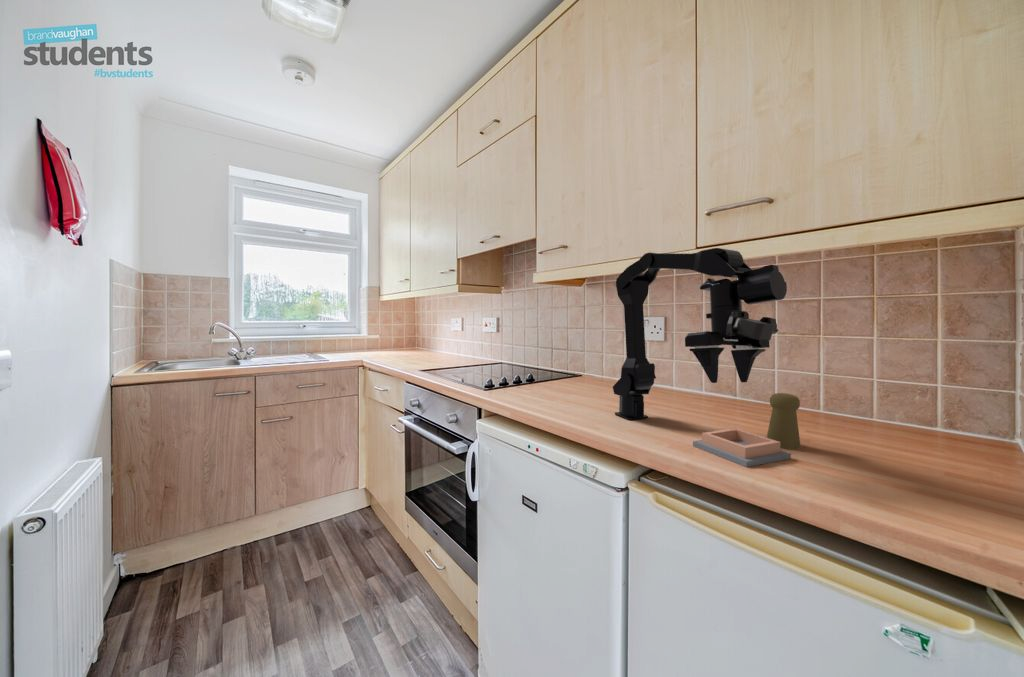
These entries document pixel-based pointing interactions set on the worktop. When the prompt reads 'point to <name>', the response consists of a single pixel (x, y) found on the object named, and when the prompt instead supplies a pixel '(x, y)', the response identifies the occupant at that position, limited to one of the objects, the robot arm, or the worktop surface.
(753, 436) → the stand
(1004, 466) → the worktop surface
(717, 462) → the worktop surface
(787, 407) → the olive pepper mill
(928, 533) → the worktop surface
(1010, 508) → the worktop surface
